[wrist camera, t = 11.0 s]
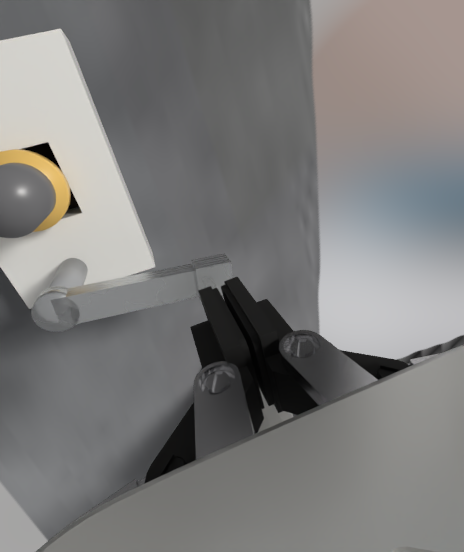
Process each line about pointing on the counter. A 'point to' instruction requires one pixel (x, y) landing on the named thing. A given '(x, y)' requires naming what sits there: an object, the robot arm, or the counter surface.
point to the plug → (30, 193)
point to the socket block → (65, 173)
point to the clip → (128, 293)
